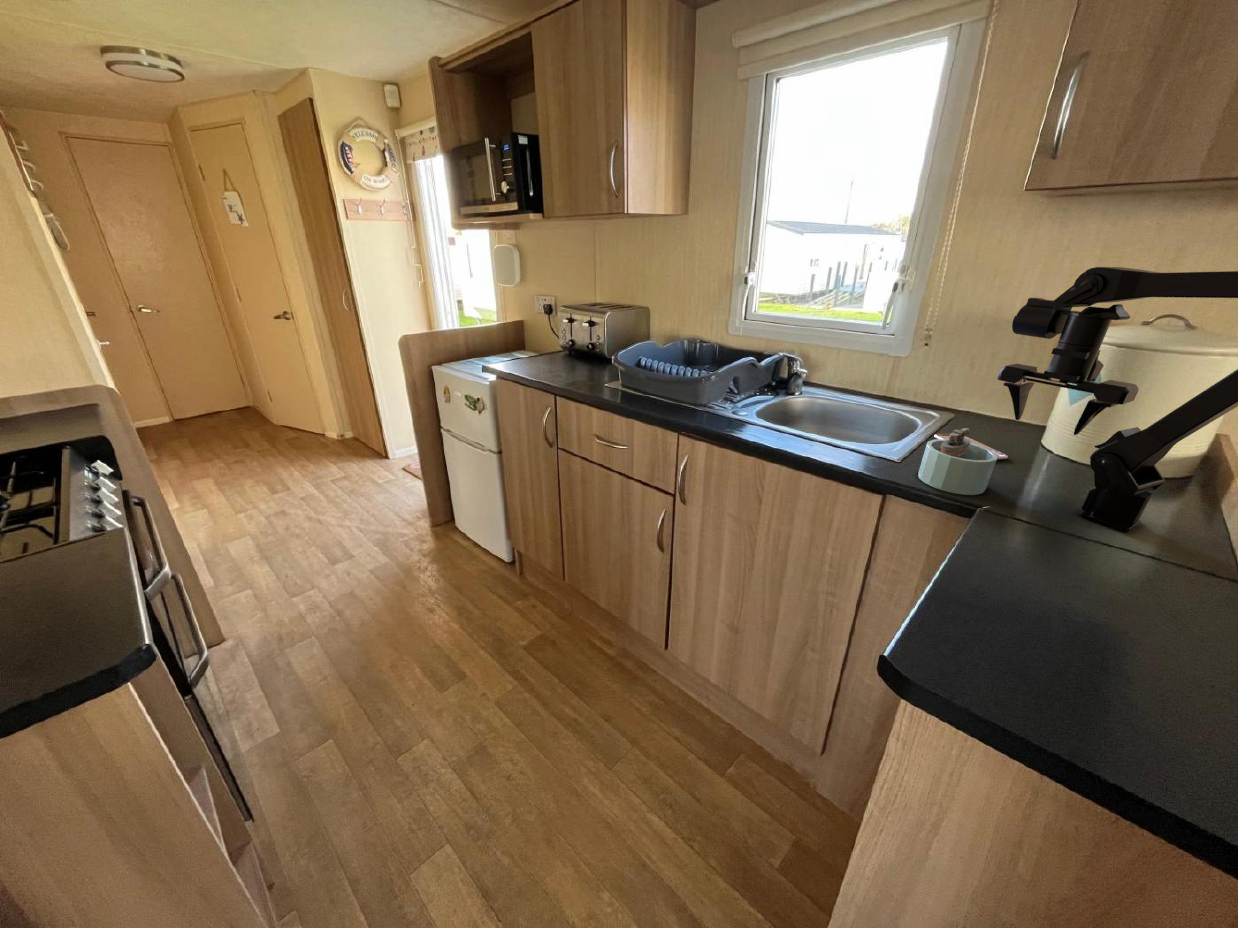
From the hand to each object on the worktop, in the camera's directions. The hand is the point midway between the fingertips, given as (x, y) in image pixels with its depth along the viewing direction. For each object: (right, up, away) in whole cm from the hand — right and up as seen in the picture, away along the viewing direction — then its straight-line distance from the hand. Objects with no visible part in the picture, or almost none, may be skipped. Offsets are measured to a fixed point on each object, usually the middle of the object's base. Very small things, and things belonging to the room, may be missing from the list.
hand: (1045, 426), depth 92 cm
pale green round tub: (-14, -11, +6) cm, 18 cm away
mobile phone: (+2, -3, +23) cm, 24 cm away
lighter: (-14, -10, +7) cm, 19 cm away
